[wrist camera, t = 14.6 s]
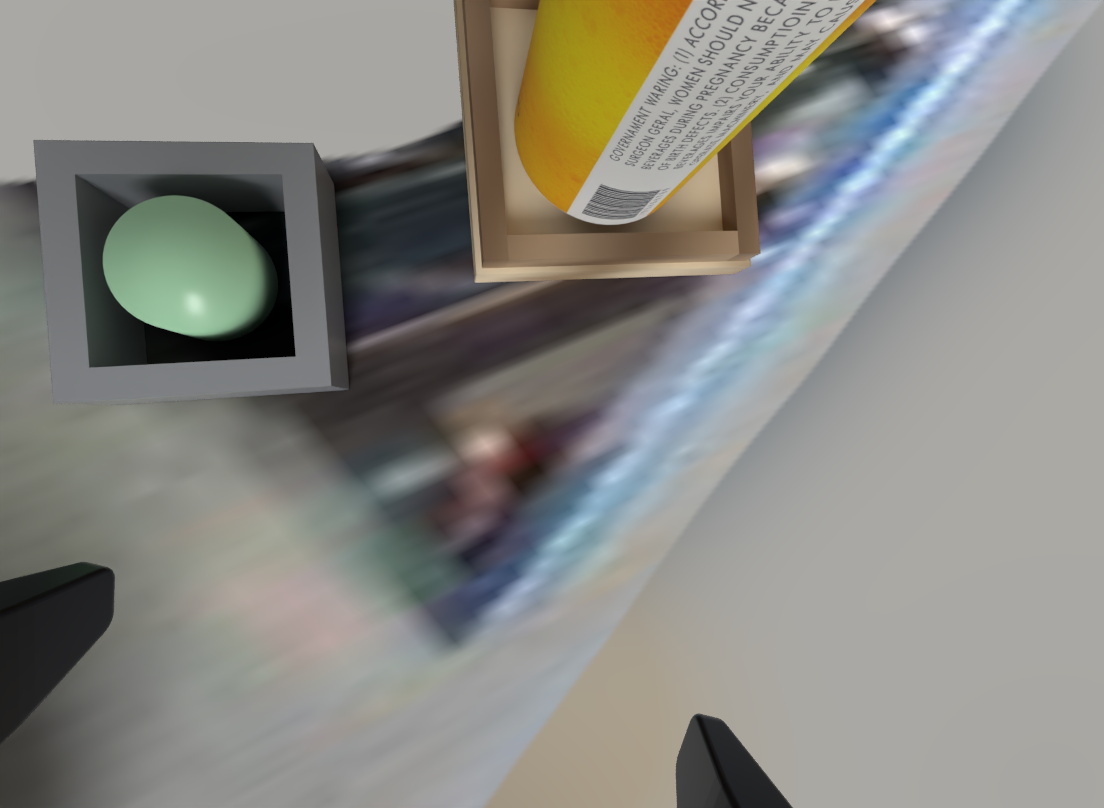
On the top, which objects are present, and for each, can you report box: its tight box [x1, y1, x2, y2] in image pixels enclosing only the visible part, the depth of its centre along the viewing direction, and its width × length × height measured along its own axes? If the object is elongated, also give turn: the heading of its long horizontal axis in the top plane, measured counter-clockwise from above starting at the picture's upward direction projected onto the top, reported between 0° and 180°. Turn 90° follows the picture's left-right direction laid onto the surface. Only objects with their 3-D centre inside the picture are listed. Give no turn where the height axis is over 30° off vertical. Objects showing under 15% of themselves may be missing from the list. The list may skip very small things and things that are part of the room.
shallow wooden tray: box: [454, 0, 760, 283], centre depth 20 cm, size 10×10×2 cm
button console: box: [34, 140, 349, 405], centre depth 17 cm, size 7×7×3 cm
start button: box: [103, 195, 278, 341], centre depth 16 cm, size 4×4×2 cm
